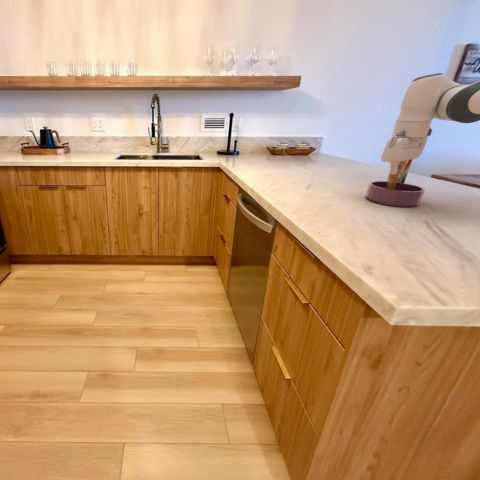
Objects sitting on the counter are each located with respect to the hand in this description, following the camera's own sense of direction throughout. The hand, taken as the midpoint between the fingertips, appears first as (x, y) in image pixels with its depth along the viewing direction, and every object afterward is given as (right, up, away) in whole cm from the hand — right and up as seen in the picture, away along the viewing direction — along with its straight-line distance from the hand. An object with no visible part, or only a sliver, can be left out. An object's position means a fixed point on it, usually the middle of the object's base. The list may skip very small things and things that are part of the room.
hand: (395, 173), depth 99 cm
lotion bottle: (+16, -2, +20) cm, 26 cm away
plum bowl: (+2, -9, +4) cm, 10 cm away
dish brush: (0, -8, +4) cm, 9 cm away
